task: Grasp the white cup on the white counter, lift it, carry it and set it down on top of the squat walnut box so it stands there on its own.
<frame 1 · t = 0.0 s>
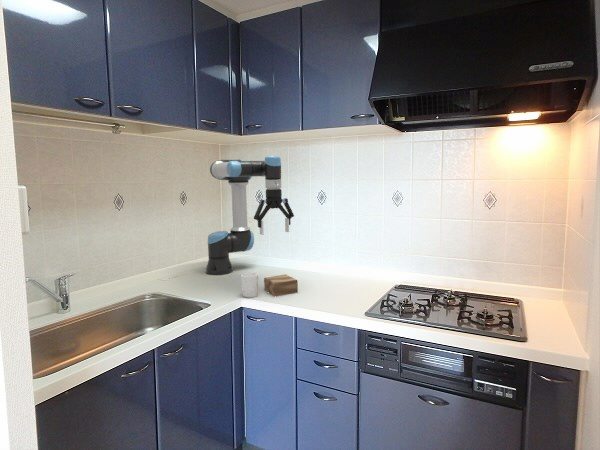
hand: (274, 233, 186), 28 cm above the worktop, fingers open, 13 cm apart
white cup: (250, 295, 181), on the worktop
walnut box: (280, 291, 187), on the worktop
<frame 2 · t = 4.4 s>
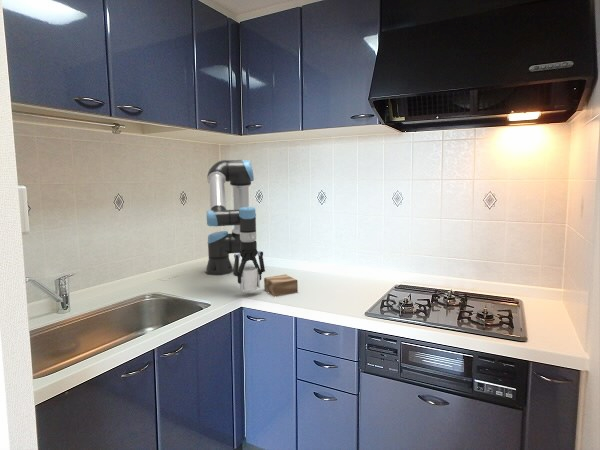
hand: (249, 288, 181), 3 cm above the worktop, fingers closed on white cup, 7 cm apart
white cup: (249, 289, 182), point 3 cm above the worktop, touching gripper
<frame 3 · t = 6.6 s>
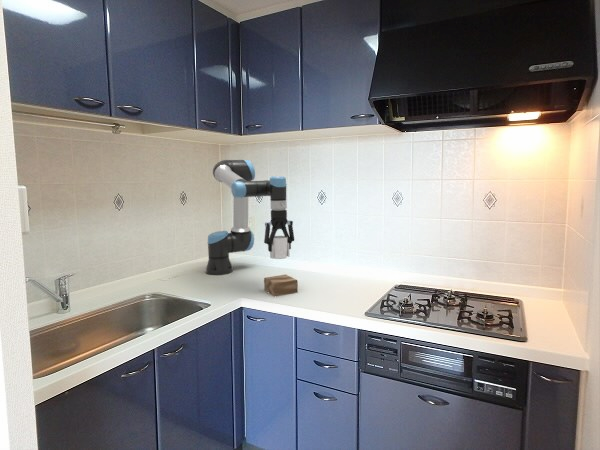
hand: (279, 257, 185), 17 cm above the worktop, fingers closed on white cup, 7 cm apart
white cup: (279, 258, 185), point 16 cm above the worktop, touching gripper
when the fingers open (7 cm above the worktop, at t = 9.1 s): white cup stays where it is, resting on walnut box.
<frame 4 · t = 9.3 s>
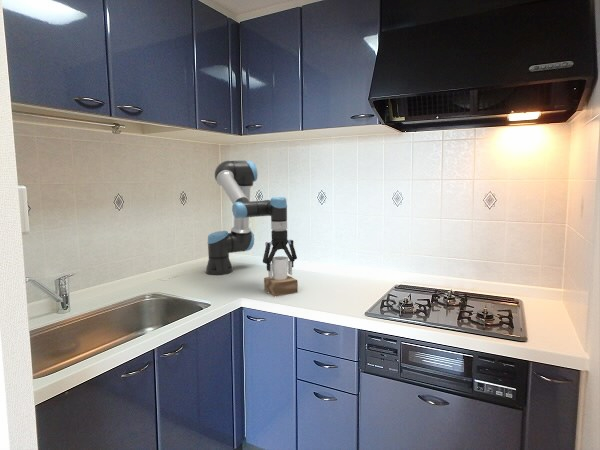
hand: (280, 275, 186), 8 cm above the worktop, fingers open, 10 cm apart
white cup: (280, 278, 186), point 6 cm above the worktop, touching walnut box
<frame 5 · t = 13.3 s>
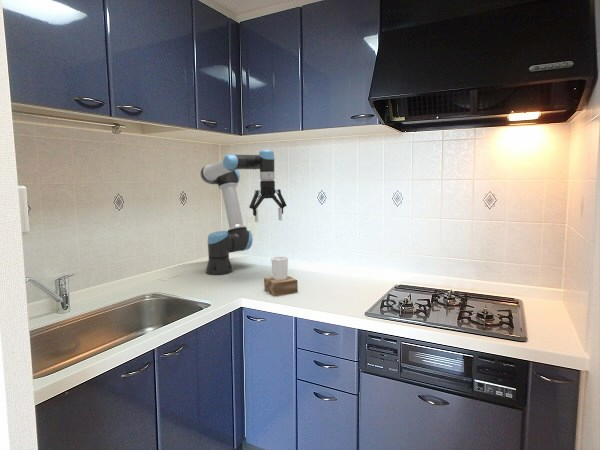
hand: (268, 221, 203), 32 cm above the worktop, fingers open, 13 cm apart
nothing on the worktop moved.
at the end: white cup inside the target area on the walnut box (0.3 cm from its centre), point 6.1 cm above the walnut box's base; white cup tilted 0°; the gripper is holding nothing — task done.
